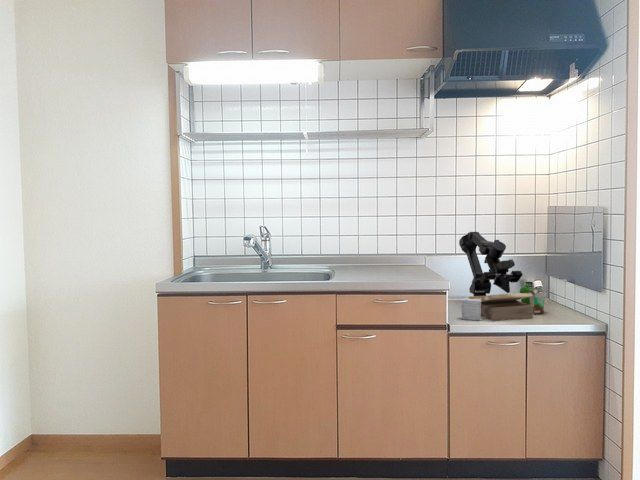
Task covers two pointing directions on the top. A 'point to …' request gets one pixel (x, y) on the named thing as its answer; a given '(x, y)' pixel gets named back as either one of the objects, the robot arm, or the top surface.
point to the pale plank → (505, 297)
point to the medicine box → (471, 309)
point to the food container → (537, 300)
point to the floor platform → (505, 310)
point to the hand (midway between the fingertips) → (508, 292)
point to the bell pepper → (526, 290)
